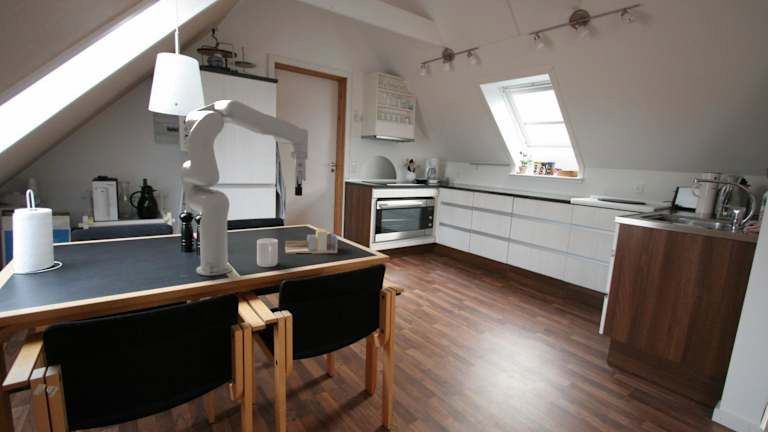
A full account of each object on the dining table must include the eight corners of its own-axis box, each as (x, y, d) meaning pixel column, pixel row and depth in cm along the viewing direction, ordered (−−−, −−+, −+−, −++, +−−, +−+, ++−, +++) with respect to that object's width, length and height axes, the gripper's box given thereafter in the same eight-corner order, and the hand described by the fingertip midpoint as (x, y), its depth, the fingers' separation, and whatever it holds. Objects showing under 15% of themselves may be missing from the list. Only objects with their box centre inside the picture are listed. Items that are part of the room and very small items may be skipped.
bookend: (316, 249, 175) (317, 237, 174) (308, 249, 174) (308, 237, 173) (315, 246, 181) (315, 234, 180) (307, 246, 180) (307, 234, 179)
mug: (281, 269, 149) (282, 244, 147) (260, 271, 145) (260, 245, 143) (275, 260, 159) (275, 237, 158) (255, 262, 155) (255, 238, 154)
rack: (337, 252, 177) (337, 236, 176) (286, 254, 170) (286, 237, 169) (333, 248, 186) (334, 232, 185) (285, 249, 178) (285, 232, 177)
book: (326, 250, 176) (327, 232, 174) (317, 250, 174) (317, 232, 173) (324, 246, 182) (325, 229, 181) (315, 247, 181) (315, 229, 179)
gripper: (309, 156, 162) (308, 197, 165) (305, 156, 176) (305, 193, 179) (292, 155, 160) (291, 197, 163) (289, 155, 174) (289, 193, 177)
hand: (298, 195), depth 171 cm, fingers closed
